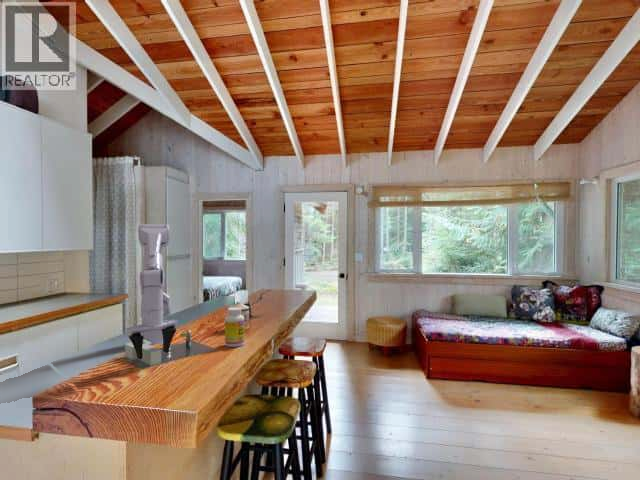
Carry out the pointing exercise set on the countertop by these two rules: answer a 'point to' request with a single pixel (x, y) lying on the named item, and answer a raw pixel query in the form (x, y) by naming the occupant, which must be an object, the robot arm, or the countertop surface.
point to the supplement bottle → (234, 328)
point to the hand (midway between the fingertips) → (153, 355)
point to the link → (144, 353)
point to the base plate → (176, 353)
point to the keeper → (187, 337)
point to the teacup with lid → (243, 313)
